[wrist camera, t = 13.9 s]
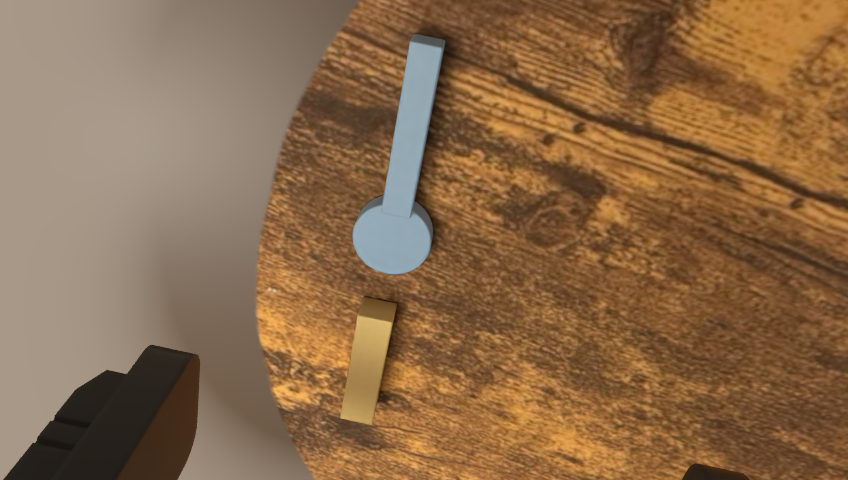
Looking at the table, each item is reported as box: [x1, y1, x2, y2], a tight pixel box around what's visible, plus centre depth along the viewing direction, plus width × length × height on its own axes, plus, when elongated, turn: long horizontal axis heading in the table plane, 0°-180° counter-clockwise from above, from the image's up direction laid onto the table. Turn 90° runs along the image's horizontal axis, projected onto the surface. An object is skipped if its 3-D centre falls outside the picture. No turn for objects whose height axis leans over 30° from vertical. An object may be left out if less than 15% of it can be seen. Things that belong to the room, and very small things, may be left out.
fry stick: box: [340, 297, 397, 425], centre depth 37 cm, size 7×2×2 cm, turn 169°
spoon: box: [353, 34, 445, 274], centre depth 32 cm, size 11×4×2 cm, turn 170°
